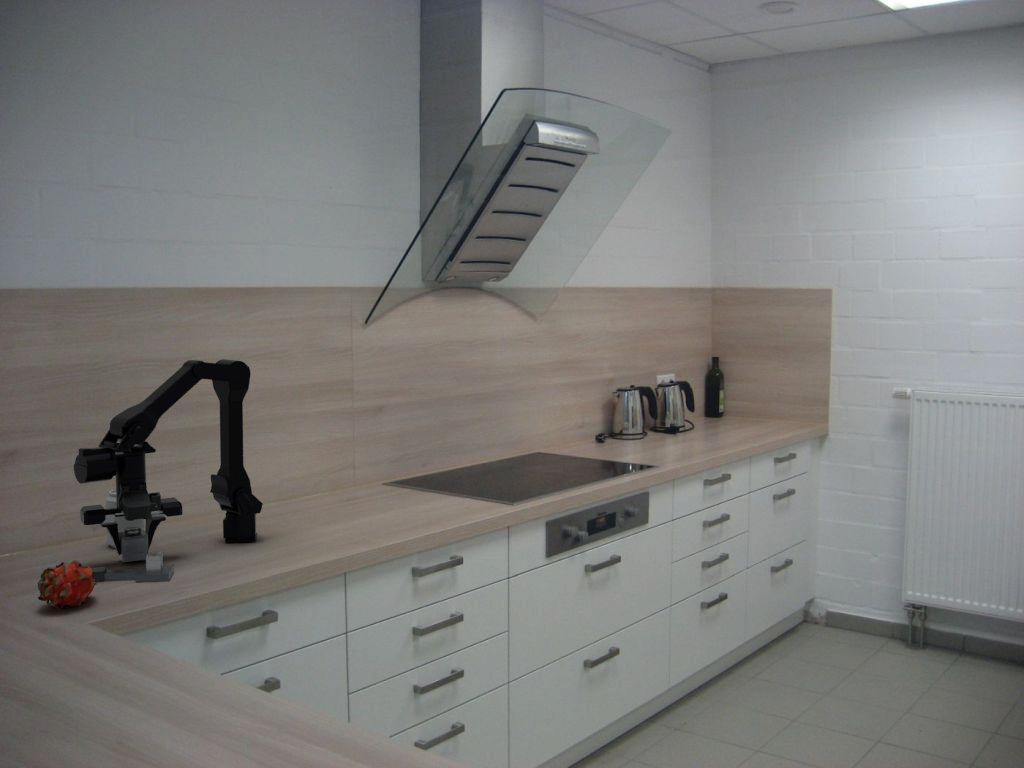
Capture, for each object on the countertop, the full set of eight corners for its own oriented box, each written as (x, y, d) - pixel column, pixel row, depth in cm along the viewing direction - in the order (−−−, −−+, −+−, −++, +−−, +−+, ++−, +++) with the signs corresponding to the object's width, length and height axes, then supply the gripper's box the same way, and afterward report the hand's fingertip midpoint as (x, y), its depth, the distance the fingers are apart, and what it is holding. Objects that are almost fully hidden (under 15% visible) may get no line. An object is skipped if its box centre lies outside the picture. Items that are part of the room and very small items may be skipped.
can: (151, 542, 219) (150, 487, 218) (130, 550, 212) (128, 494, 211) (122, 539, 221) (120, 485, 220) (99, 547, 214) (97, 492, 213)
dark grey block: (143, 553, 207) (143, 524, 206) (148, 558, 203) (147, 529, 202) (118, 556, 204) (117, 527, 204) (122, 562, 200) (121, 532, 199)
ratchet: (173, 572, 196) (173, 549, 196) (168, 581, 190) (168, 558, 190) (64, 576, 193) (63, 554, 192) (56, 586, 187) (55, 562, 186)
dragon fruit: (36, 625, 170) (87, 614, 181) (71, 599, 168) (120, 589, 179) (15, 581, 172) (67, 572, 183) (50, 555, 170) (100, 548, 181)
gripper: (86, 488, 190) (89, 568, 192) (187, 479, 200) (189, 556, 201) (78, 478, 200) (81, 555, 201) (175, 470, 209) (177, 543, 211)
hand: (133, 552), depth 203 cm, fingers closed on dark grey block, 5 cm apart
